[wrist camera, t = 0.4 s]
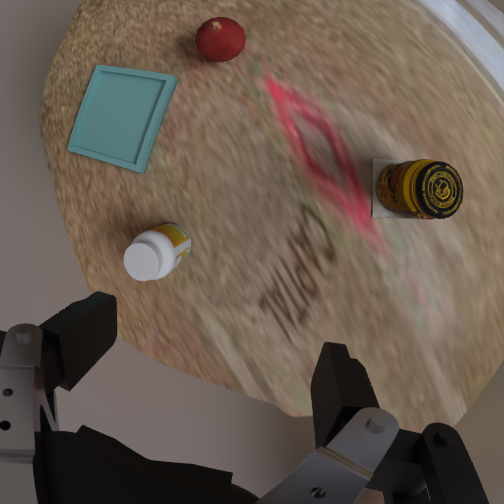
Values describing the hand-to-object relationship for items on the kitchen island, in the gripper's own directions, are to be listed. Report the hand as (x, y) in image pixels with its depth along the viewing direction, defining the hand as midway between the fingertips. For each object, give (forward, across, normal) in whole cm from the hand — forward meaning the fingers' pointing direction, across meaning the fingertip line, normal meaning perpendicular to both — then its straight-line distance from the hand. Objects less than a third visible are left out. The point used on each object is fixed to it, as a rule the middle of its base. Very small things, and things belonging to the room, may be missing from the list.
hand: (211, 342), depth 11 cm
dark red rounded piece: (+27, +8, -22) cm, 36 cm away
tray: (+27, +21, -12) cm, 36 cm away
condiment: (+27, -17, -8) cm, 33 cm away
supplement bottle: (+27, +11, +4) cm, 29 cm away
